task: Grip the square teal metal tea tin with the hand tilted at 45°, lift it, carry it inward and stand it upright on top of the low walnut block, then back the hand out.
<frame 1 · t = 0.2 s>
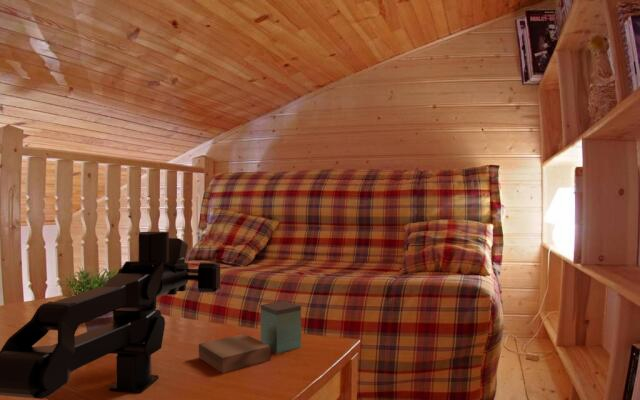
hand: (195, 271, 109), 17 cm above the table, tool horizontal, fingers open, 9 cm apart
walnut block: (234, 358, 97), on the table
tea tin: (280, 346, 105), on the table
soda can: (129, 319, 130), on the table
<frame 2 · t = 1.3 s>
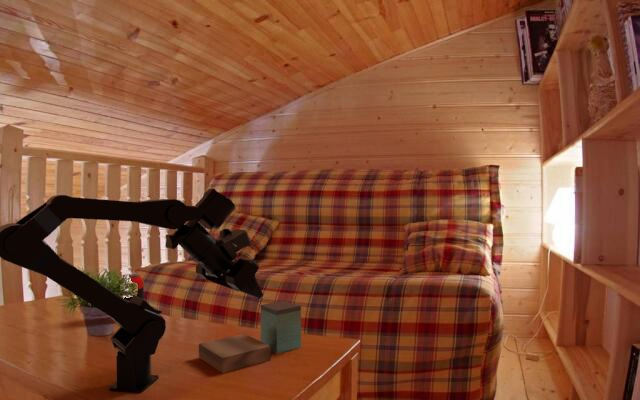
hand: (250, 293, 100), 13 cm above the table, tool tilted 45°, fingers open, 9 cm apart
nothing on the table moved.
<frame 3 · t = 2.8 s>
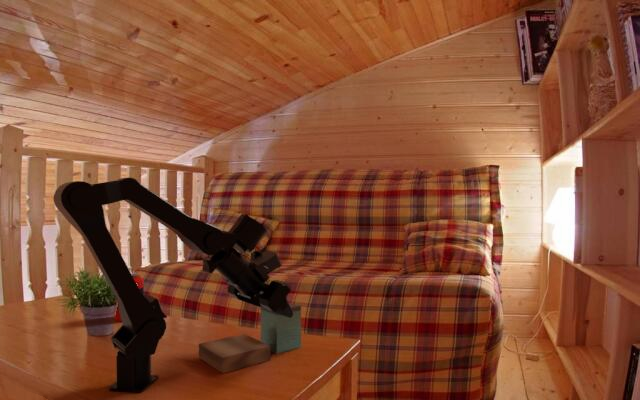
hand: (280, 311, 105), 8 cm above the table, tool tilted 45°, fingers open, 9 cm apart
nothing on the table moved.
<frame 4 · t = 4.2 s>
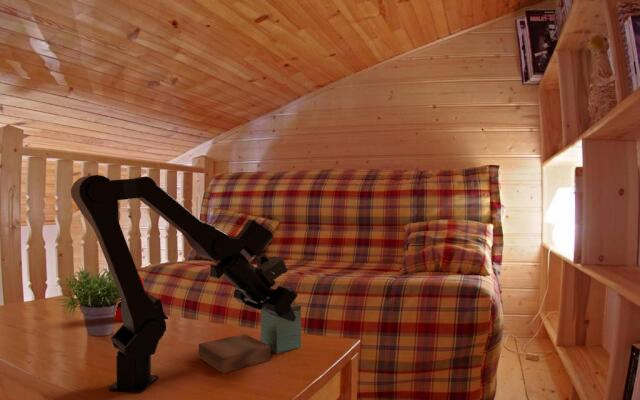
hand: (285, 316, 106), 7 cm above the table, tool tilted 45°, fingers closed on tea tin, 7 cm apart
tea tin: (280, 346, 105), on the table, touching gripper
everything else where it was.
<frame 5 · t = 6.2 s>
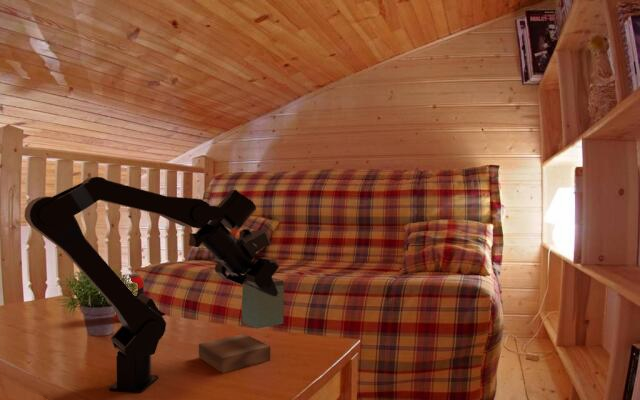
hand: (268, 292, 103), 13 cm above the table, tool tilted 45°, fingers closed on tea tin, 7 cm apart
tea tin: (262, 322, 102), point 6 cm above the table, touching gripper
everything else where it was.
when the fingers open (10 cm above the table, at t = 8.3 s): tea tin stays where it is, resting on walnut block.
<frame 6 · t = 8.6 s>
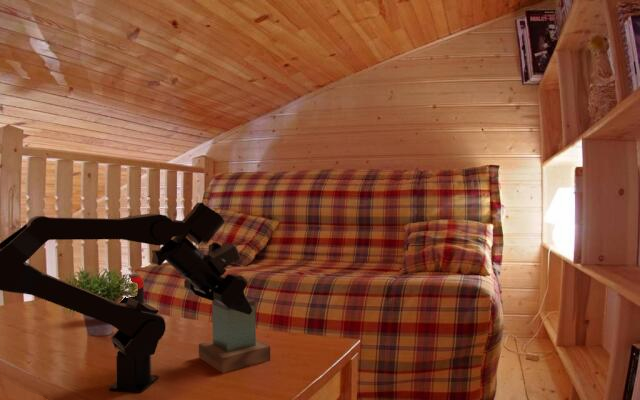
hand: (239, 308, 98), 11 cm above the table, tool tilted 45°, fingers open, 9 cm apart
tea tin: (234, 344, 97), point 3 cm above the table, touching walnut block
everything else where it was.
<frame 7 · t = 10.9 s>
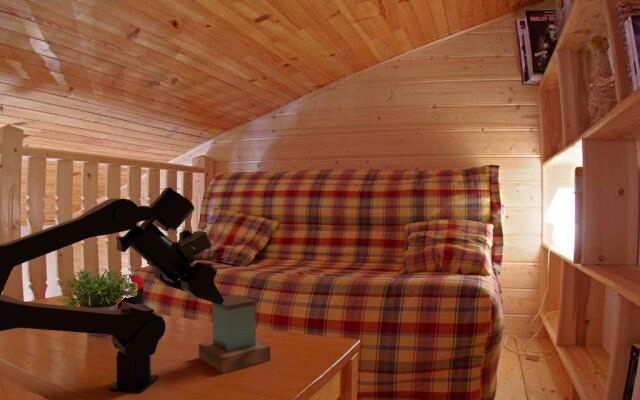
hand: (211, 298, 94), 14 cm above the table, tool tilted 45°, fingers open, 9 cm apart
nothing on the table moved.
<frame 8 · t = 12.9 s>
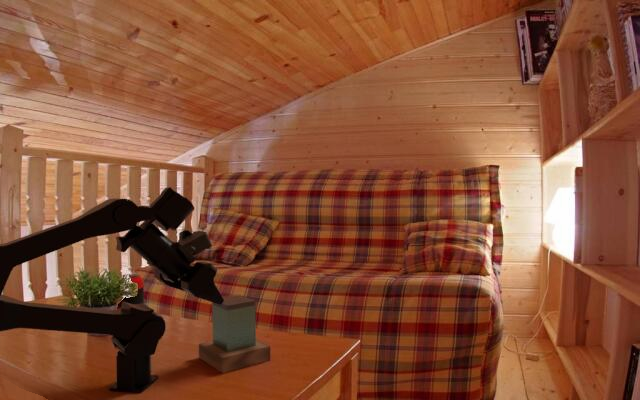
hand: (211, 298, 94), 14 cm above the table, tool tilted 45°, fingers open, 9 cm apart
nothing on the table moved.
at the end: tea tin inside the target area on the walnut block (0.0 cm from its centre), point 3.0 cm above the walnut block's base; tea tin tilted 0°; the gripper is holding nothing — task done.
